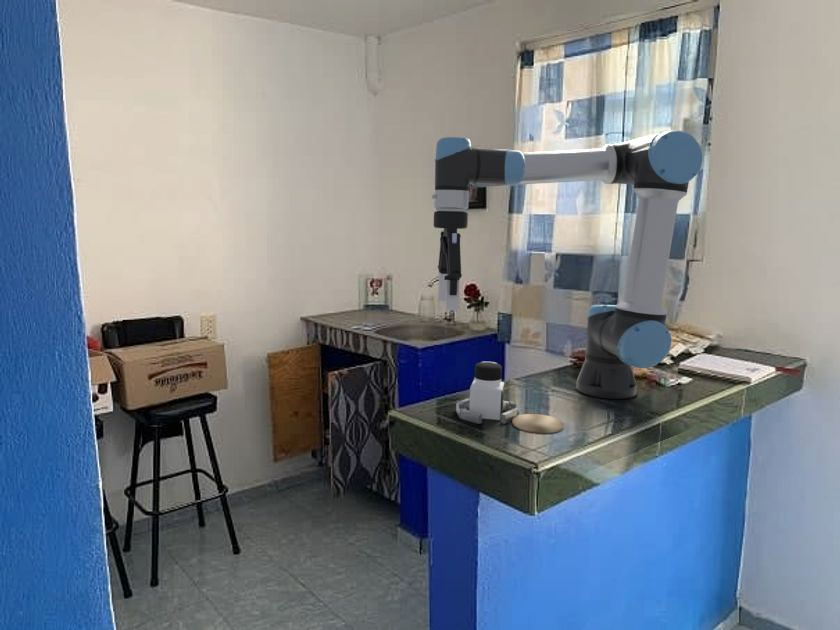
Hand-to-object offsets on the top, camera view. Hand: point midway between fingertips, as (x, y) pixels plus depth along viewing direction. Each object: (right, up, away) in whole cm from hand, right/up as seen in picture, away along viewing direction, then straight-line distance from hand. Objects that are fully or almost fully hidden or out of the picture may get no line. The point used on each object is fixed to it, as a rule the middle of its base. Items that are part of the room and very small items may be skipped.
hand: (447, 305), depth 141 cm
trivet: (+19, -26, -5) cm, 33 cm away
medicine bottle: (+9, -25, +1) cm, 27 cm away
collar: (+9, -25, +1) cm, 26 cm away
